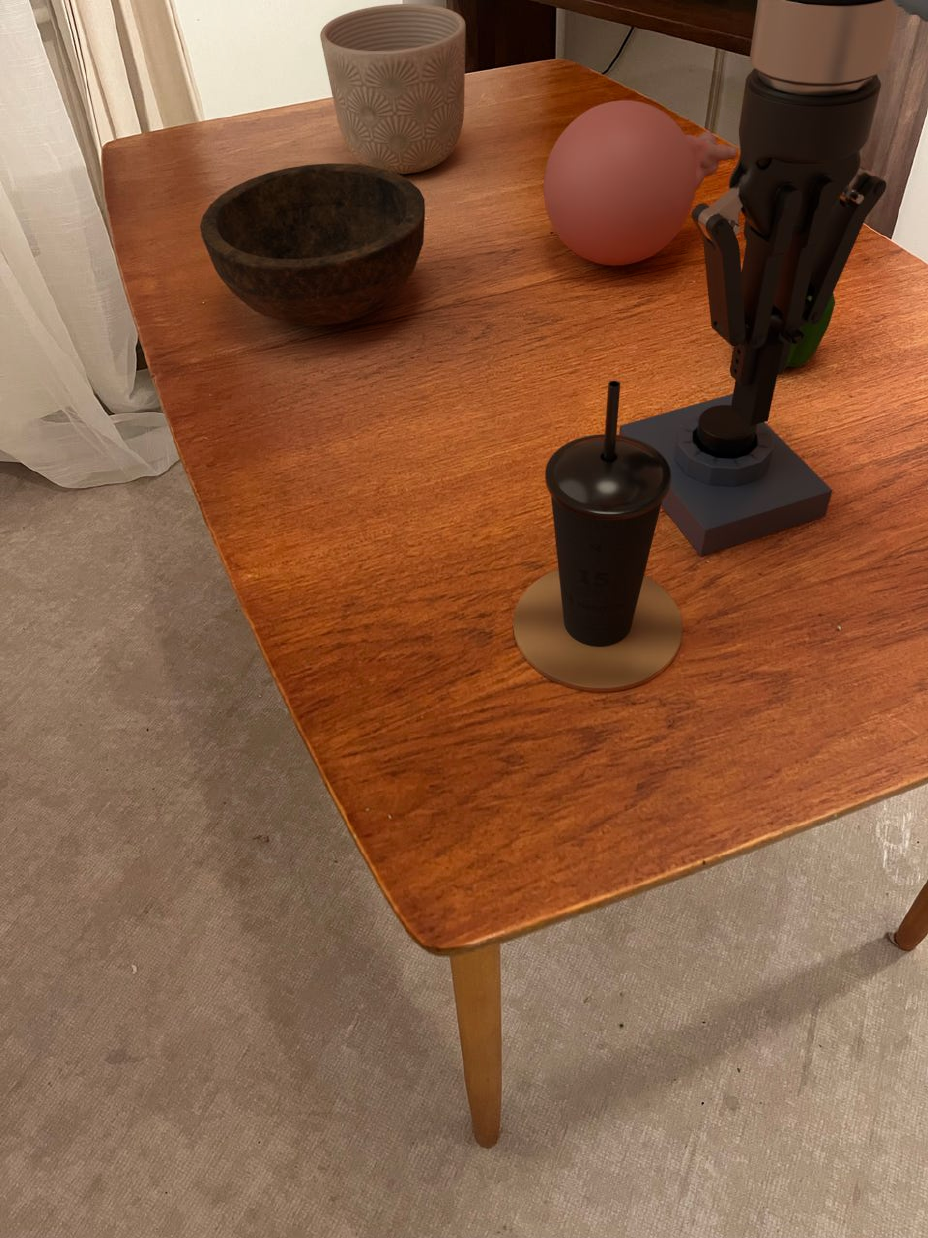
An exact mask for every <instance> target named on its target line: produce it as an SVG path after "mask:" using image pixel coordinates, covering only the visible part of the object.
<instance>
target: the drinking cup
mask: <svg viewBox="0 0 928 1238" xmlns="http://www.w3.org/2000/svg"><path fill="white" fill-rule="evenodd" d="M620 393H621V382H620V381H618V380H611V381H609V382H608V384H607V396H606V397H607V398H606V412H605V427H604V433H602V434H591V435H586V436H582V437H579V438H576V439H573V440H571V441H569V442H566V443H565V444H564V445H563V444H562V446H560V447H559V448H558V449H557V450H556V451H555V452H553V454H552V455H551V456H550V458H549V459H548V462H547V463H546V465H545V470H544V481H545V486H546V488H547V491H548V493H549V494H550V499H551V509H552V520H553V529H554V541H555V549H556V558H557V569H558V570H559V579H560V589H561V599H562V609H563V619H564V625H565V628H566V630H567V632H568V633H569V634H570V636H571V637H572V638H574V639H575V640H577V641H578V642H580V643H582V644H585V645H589V646H594V647H604V646H610V645H613V644H616V643H618V642H620V641H621V640H622V639H624V638H625V637H626V636H627V635H628V633H629V631H630V629H631V626H632V622H633V618H634V614H635V610H636V606H637V602H638V598H639V594H640V589H641V585H642V581H643V577H644V575H645V573H646V568H647V564H648V561H649V557H650V552H651V549H652V544H653V541H654V537H655V532H656V529H657V524H658V519H659V516H660V512H661V508H662V506H661V504H662V501H663V499H664V498H665V497H666V495H667V493H668V491H669V488H670V484H671V471H670V467H669V465H668V463H667V461H666V459H665V458H664V457H663V456H662V455H661V453H660V452H658V451H657V450H656V449H655V448H653V447H652V446H650V445H648V444H646V443H644V442H642V441H640V440H637V439H634V438H631V437H627V436H621V435H619V434H617V432H618V420H619V406H620Z"/></svg>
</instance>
